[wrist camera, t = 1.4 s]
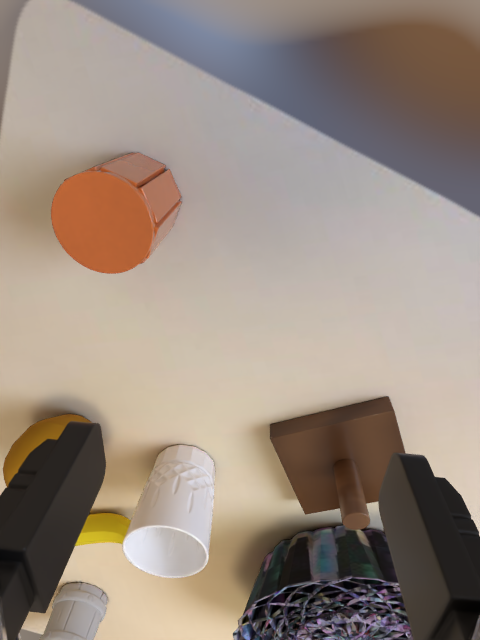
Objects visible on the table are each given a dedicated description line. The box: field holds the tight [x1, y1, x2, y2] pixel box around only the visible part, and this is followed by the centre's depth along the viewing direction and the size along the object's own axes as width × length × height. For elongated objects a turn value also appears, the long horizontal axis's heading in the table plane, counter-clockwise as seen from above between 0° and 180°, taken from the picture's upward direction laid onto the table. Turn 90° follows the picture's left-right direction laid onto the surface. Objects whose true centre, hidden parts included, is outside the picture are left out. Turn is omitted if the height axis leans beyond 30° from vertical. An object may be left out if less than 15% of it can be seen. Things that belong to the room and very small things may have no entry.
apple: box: [3, 414, 91, 487], centre depth 39 cm, size 9×8×9 cm
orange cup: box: [51, 153, 182, 274], centre depth 28 cm, size 6×6×8 cm
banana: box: [75, 513, 131, 546], centre depth 48 cm, size 3×19×6 cm, turn 102°
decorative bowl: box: [233, 525, 414, 640], centre depth 49 cm, size 26×28×10 cm
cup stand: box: [270, 397, 405, 530], centre depth 39 cm, size 12×12×8 cm
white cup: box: [122, 445, 216, 578], centre depth 41 cm, size 8×8×10 cm
